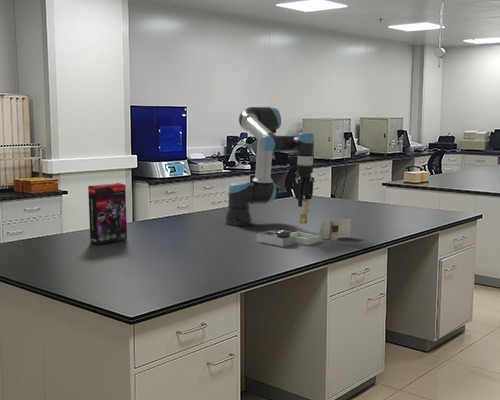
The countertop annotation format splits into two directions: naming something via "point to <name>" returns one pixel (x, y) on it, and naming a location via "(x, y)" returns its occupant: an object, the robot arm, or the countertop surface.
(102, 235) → the graphics card box
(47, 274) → the countertop surface
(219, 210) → the countertop surface
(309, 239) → the tray
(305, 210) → the lock pin
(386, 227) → the countertop surface
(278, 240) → the base
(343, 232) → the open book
